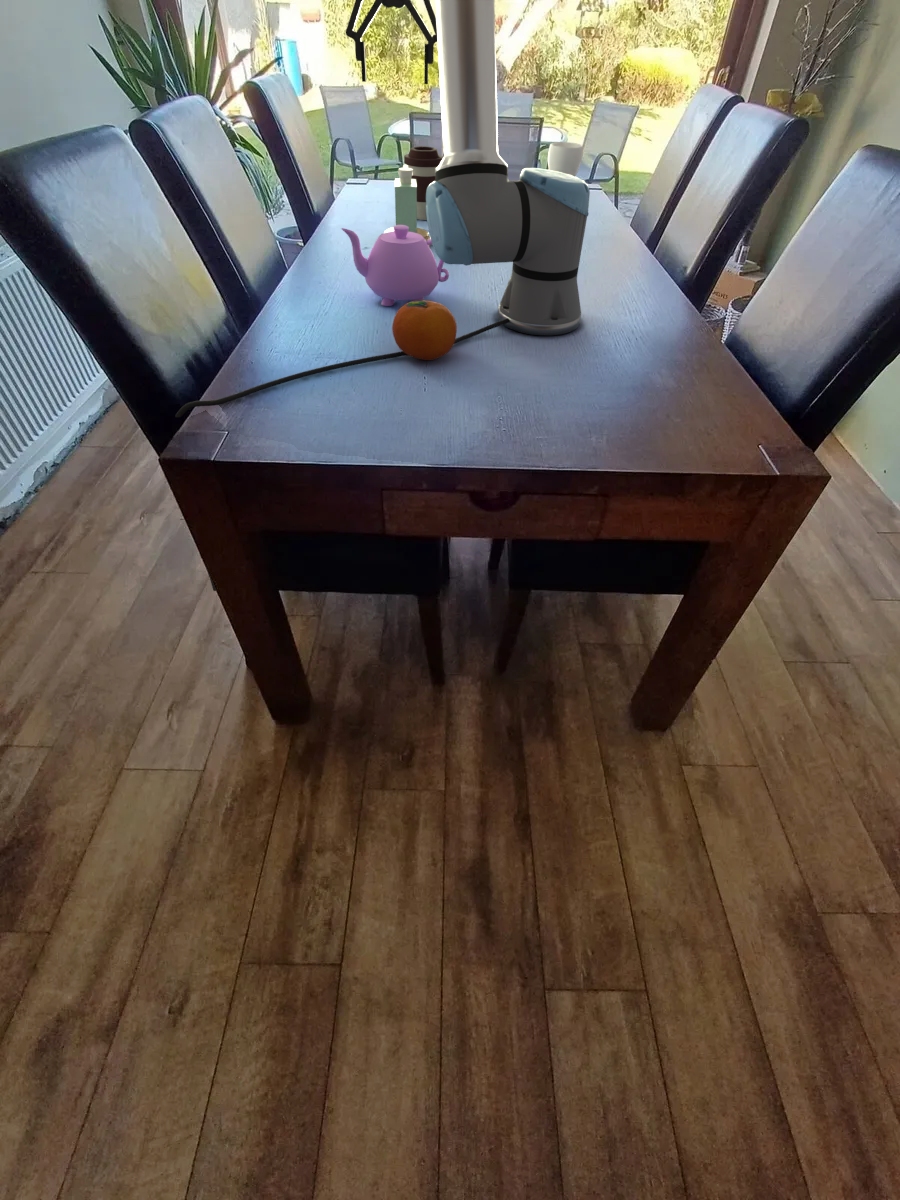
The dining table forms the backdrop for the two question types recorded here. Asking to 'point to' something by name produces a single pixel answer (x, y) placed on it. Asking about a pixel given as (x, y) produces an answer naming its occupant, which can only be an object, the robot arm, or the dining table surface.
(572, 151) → the cup
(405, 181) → the soap bottle
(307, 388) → the dining table surface
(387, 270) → the teapot
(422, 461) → the dining table surface
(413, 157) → the coffee cup
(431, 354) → the fruit
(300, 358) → the dining table surface
